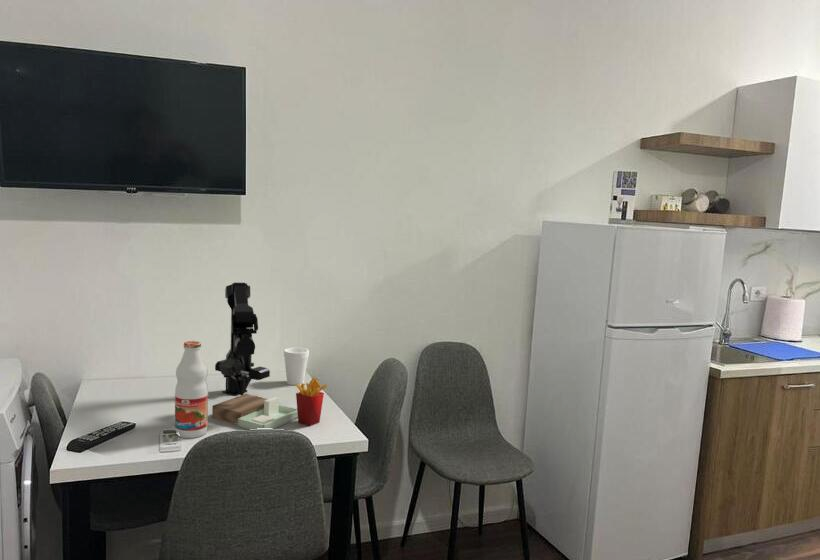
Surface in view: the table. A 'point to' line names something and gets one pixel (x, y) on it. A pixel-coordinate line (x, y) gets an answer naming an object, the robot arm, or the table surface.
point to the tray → (280, 418)
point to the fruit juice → (191, 393)
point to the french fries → (309, 402)
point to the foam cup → (296, 364)
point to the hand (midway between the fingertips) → (241, 394)
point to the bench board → (237, 407)
